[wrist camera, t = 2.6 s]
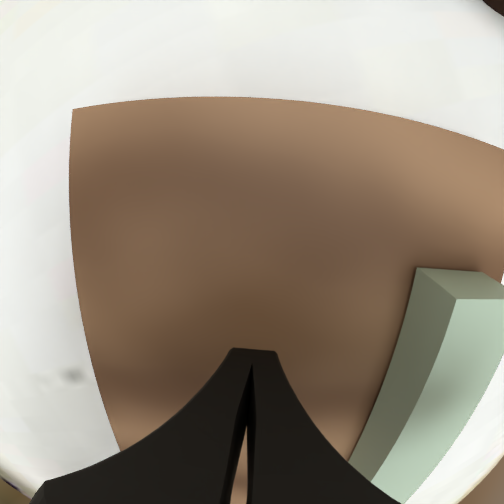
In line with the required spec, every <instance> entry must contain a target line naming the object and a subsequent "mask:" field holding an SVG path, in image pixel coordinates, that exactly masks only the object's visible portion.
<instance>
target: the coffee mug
mask: <svg viewBox="0 0 504 504" xmlns="http://www.w3.org/2000/svg"><path fill="white" fill-rule="evenodd" d="M483 1H484V2H485V3H486V4H487V5H489V6H490V7H491V8H492V9H494V10H495V11H496V12H498V13H499V14H501V15H502V16H504V0H483Z"/></svg>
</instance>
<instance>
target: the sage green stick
mask: <svg viewBox="0 0 504 504" xmlns="http://www.w3.org/2000/svg"><path fill="white" fill-rule="evenodd" d="M503 354H504V286H503V285H502V284H500V283H499V282H497V281H496V280H494V279H492V278H491V277H489V276H488V275H486V274H484V273H483V272H474V271H460V270H446V269H432V268H418V267H417V269H416V274H415V278H414V283H413V287H412V291H411V295H410V299H409V303H408V307H407V311H406V314H405V318H404V321H403V325H402V328H401V332H400V335H399V338H398V342H397V345H396V348H395V351H394V354H393V357H392V360H391V363H390V366H389V368H388V371H387V374H386V377H385V380H384V382H383V385H382V387H381V390H380V393H379V395H378V398H377V400H376V403H375V405H374V407H373V410H372V412H371V415H370V417H369V419H368V421H367V424H366V426H365V428H364V430H363V433H362V435H361V437H360V439H359V441H358V443H357V445H356V447H355V449H354V451H353V453H352V455H351V457H350V459H349V461H348V463H350V464H351V465H352V466H353V467H354V468H355V469H356V470H357V471H359V472H360V473H361V474H362V475H363V476H364V477H365V478H367V479H368V480H369V481H370V482H371V483H372V484H374V485H375V486H376V487H378V488H379V489H380V490H382V491H383V492H385V493H386V494H387V495H389V496H390V497H392V498H393V499H395V500H396V501H398V502H400V503H401V504H404V503H405V502H406V501H407V500H408V499H409V498H410V497H411V496H412V495H413V494H414V492H415V491H416V490H417V489H418V488H419V487H420V486H421V484H422V483H423V482H424V481H425V480H426V479H427V477H428V476H429V475H430V474H431V472H432V471H433V470H434V469H435V467H436V466H437V465H438V464H439V462H440V461H441V460H442V458H443V457H444V456H445V454H446V453H447V451H448V450H449V449H450V447H451V446H452V444H453V443H454V442H455V440H456V439H457V437H458V436H459V434H460V433H461V431H462V430H463V428H464V427H465V425H466V423H467V422H468V420H469V419H470V417H471V415H472V414H473V412H474V410H475V409H476V407H477V405H478V403H479V402H480V400H481V398H482V396H483V395H484V393H485V391H486V389H487V387H488V385H489V383H490V381H491V379H492V377H493V375H494V373H495V371H496V369H497V367H498V365H499V363H500V361H501V358H502V356H503Z"/></svg>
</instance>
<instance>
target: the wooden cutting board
mask: <svg viewBox="0 0 504 504" xmlns="http://www.w3.org/2000/svg"><path fill="white" fill-rule="evenodd" d="M69 206H70V227H71V241H72V252H73V262H74V270H75V278H76V285H77V292H78V299H79V305H80V310H81V316H82V321H83V326H84V331H85V336H86V341H87V345H88V349H89V354H90V358H91V362H92V366H93V369H94V373H95V377H96V380H97V384H98V387H99V391H100V394H101V397H102V401H103V404H104V407H105V410H106V413H107V416H108V419H109V422H110V424H111V427H112V430H113V433H114V435H115V438H116V441H117V443H118V446H119V448H120V451H123V450H125V449H127V448H128V447H130V446H132V445H133V444H135V443H137V442H138V441H140V440H141V439H143V438H144V437H146V436H147V435H149V434H150V433H151V432H153V431H154V430H156V429H157V428H159V427H160V426H161V425H162V424H164V423H165V422H166V421H167V420H169V419H170V418H171V417H172V416H174V415H175V414H176V413H177V412H178V411H179V410H180V409H181V408H182V407H184V406H185V405H186V404H187V403H188V402H189V401H190V400H191V399H192V398H193V396H194V395H195V394H196V393H197V392H198V391H199V390H200V389H201V388H202V387H203V386H204V385H205V383H206V382H207V381H208V380H209V379H210V377H211V376H212V375H213V374H214V373H215V371H216V370H217V369H218V367H219V366H220V364H221V363H222V362H223V360H224V359H225V357H226V355H227V354H228V352H229V350H230V349H232V348H233V347H235V348H246V349H257V350H270V351H275V352H276V353H277V354H278V358H279V361H280V363H281V366H282V368H283V371H284V373H285V375H286V377H287V379H288V381H289V383H290V385H291V387H292V389H293V391H294V392H295V394H296V396H297V398H298V400H299V401H300V403H301V405H302V406H303V408H304V409H305V411H306V412H307V414H308V415H309V417H310V418H311V420H312V421H313V422H314V424H315V425H316V427H317V428H318V429H319V430H320V432H321V433H322V434H323V435H324V437H325V438H326V439H327V440H328V441H329V443H330V444H331V445H332V446H333V447H334V448H335V449H336V450H337V451H338V452H339V454H340V455H341V456H342V457H343V458H344V459H345V460H346V461H347V462H348V461H349V459H350V457H351V455H352V453H353V451H354V449H355V447H356V445H357V443H358V441H359V439H360V437H361V435H362V433H363V430H364V428H365V426H366V424H367V421H368V419H369V417H370V415H371V412H372V410H373V407H374V405H375V403H376V400H377V398H378V395H379V393H380V390H381V387H382V385H383V382H384V380H385V377H386V374H387V371H388V368H389V366H390V363H391V360H392V357H393V354H394V351H395V348H396V345H397V342H398V338H399V335H400V332H401V328H402V325H403V321H404V318H405V314H406V311H407V307H408V303H409V299H410V295H411V291H412V287H413V283H414V278H415V274H416V269H417V267H418V268H432V269H446V270H460V271H474V272H483V273H484V274H486V275H488V276H489V277H491V278H492V279H494V280H496V281H497V282H499V283H500V284H501V280H502V276H503V273H504V150H503V149H501V148H498V147H496V146H493V145H490V144H488V143H485V142H482V141H479V140H477V139H474V138H471V137H468V136H465V135H462V134H459V133H456V132H452V131H449V130H446V129H442V128H439V127H435V126H432V125H428V124H424V123H421V122H417V121H413V120H409V119H404V118H400V117H396V116H391V115H387V114H382V113H377V112H372V111H366V110H361V109H355V108H349V107H343V106H336V105H329V104H321V103H313V102H304V101H294V100H283V99H269V98H251V97H179V98H160V99H147V100H136V101H126V102H117V103H109V104H102V105H95V106H89V107H83V108H77V109H73V112H72V123H71V137H70V157H69ZM246 501H247V426H246V431H245V436H244V440H243V445H242V449H241V453H240V458H239V462H238V466H237V471H236V475H235V479H234V484H233V489H232V494H231V502H230V504H246Z"/></svg>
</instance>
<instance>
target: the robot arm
mask: <svg viewBox="0 0 504 504" xmlns="http://www.w3.org/2000/svg"><path fill="white" fill-rule="evenodd" d="M246 426H247V501H246V504H401V503H400V502H398V501H396V500H395V499H393V498H392V497H390V496H389V495H387V494H386V493H385V492H383V491H382V490H380V489H379V488H378V487H376V486H375V485H374V484H372V483H371V482H370V481H369V480H368V479H367V478H365V477H364V476H363V475H362V474H361V473H360V472H359V471H357V470H356V469H355V468H354V467H353V466H352V465H351V464H350V463H348V462H347V461H346V460H345V459H344V458H343V457H342V456H341V455H340V454H339V452H338V451H337V450H336V449H335V448H334V447H333V446H332V445H331V444H330V443H329V441H328V440H327V439H326V438H325V437H324V435H323V434H322V433H321V432H320V430H319V429H318V428H317V427H316V425H315V424H314V422H313V421H312V420H311V418H310V417H309V415H308V414H307V412H306V411H305V409H304V408H303V406H302V405H301V403H300V401H299V400H298V398H297V396H296V394H295V392H294V391H293V389H292V387H291V385H290V383H289V381H288V379H287V377H286V375H285V373H284V371H283V368H282V366H281V363H280V361H279V358H278V354H277V353H276V352H275V351H270V350H257V349H246V348H235V347H233V348H232V349H230V350H229V352H228V354H227V355H226V357H225V359H224V360H223V362H222V363H221V364H220V366H219V367H218V369H217V370H216V371H215V373H214V374H213V375H212V376H211V377H210V379H209V380H208V381H207V382H206V383H205V385H204V386H203V387H202V388H201V389H200V390H199V391H198V392H197V393H196V394H195V395H194V396H193V398H192V399H191V400H190V401H189V402H188V403H187V404H186V405H185V406H184V407H182V408H181V409H180V410H179V411H178V412H177V413H176V414H175V415H174V416H172V417H171V418H170V419H169V420H167V421H166V422H165V423H164V424H162V425H161V426H160V427H159V428H157V429H156V430H154V431H153V432H151V433H150V434H149V435H147V436H146V437H144V438H143V439H141V440H140V441H138V442H137V443H135V444H133V445H132V446H130V447H128V448H127V449H125V450H123V451H121V452H119V453H117V454H115V455H113V456H111V457H109V458H107V459H105V460H103V461H101V462H99V463H97V464H94V465H92V466H90V467H87V468H85V469H82V470H79V471H76V472H73V473H70V474H67V475H64V476H61V477H58V478H54V479H51V480H47V481H45V482H44V483H43V484H42V486H41V487H40V488H39V489H38V491H37V492H36V493H35V495H34V496H33V498H32V500H31V501H30V503H29V504H230V502H231V494H232V489H233V484H234V479H235V475H236V471H237V466H238V462H239V458H240V453H241V449H242V445H243V440H244V436H245V431H246Z"/></svg>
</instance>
